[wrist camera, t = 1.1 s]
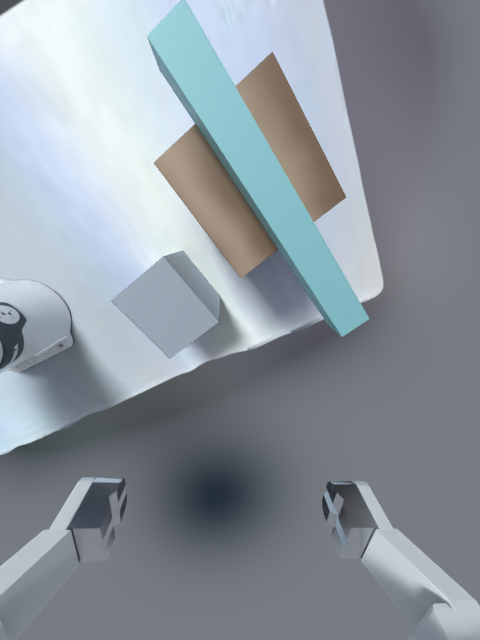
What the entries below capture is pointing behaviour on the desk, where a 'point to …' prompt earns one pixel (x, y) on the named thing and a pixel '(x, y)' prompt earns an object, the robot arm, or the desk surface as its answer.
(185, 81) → the teal bar
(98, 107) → the desk surface
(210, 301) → the slate base
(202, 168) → the walnut pedestal
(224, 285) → the desk surface
